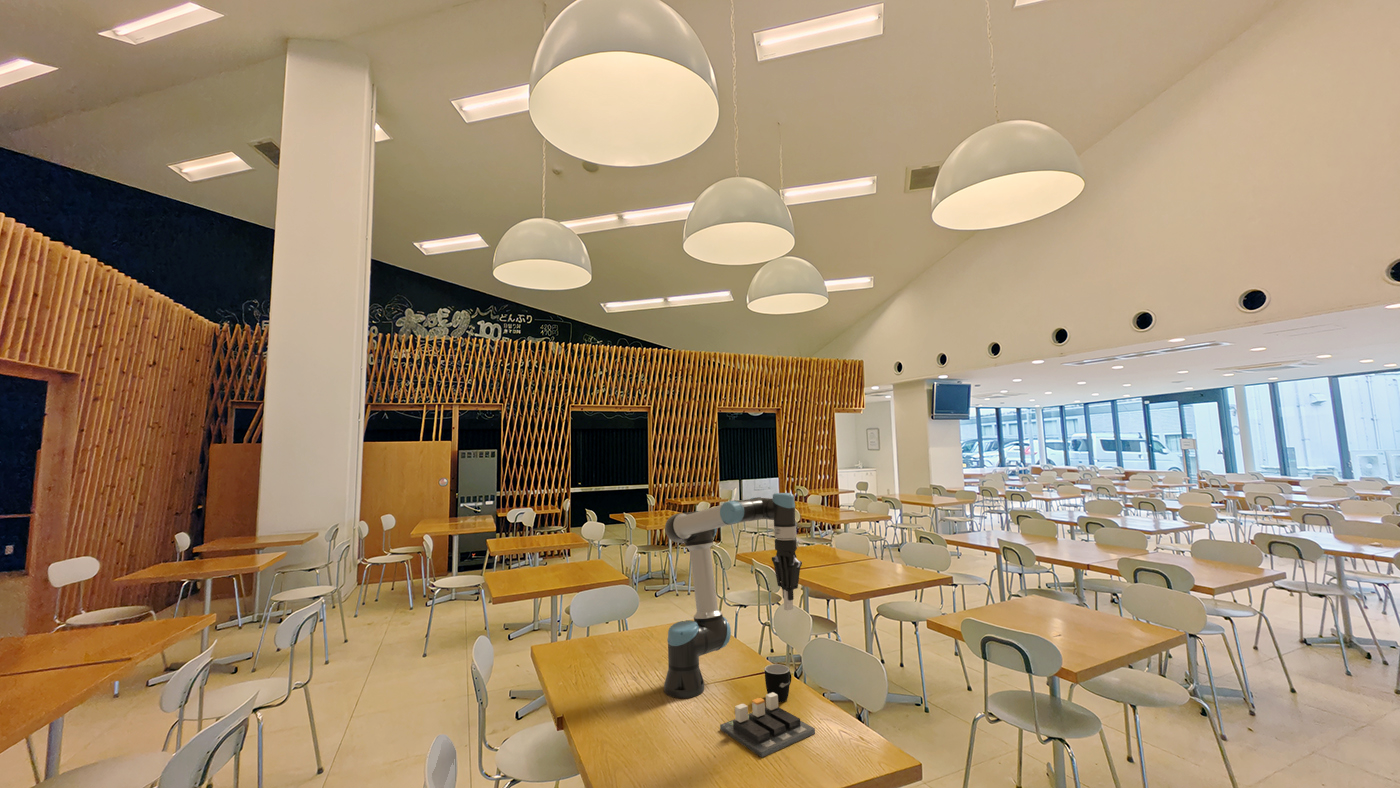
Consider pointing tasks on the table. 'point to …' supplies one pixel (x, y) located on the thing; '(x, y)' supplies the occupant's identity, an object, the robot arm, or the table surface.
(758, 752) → the panel
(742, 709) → the block
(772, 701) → the breaker far
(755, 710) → the block
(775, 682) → the mug
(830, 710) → the table surface
